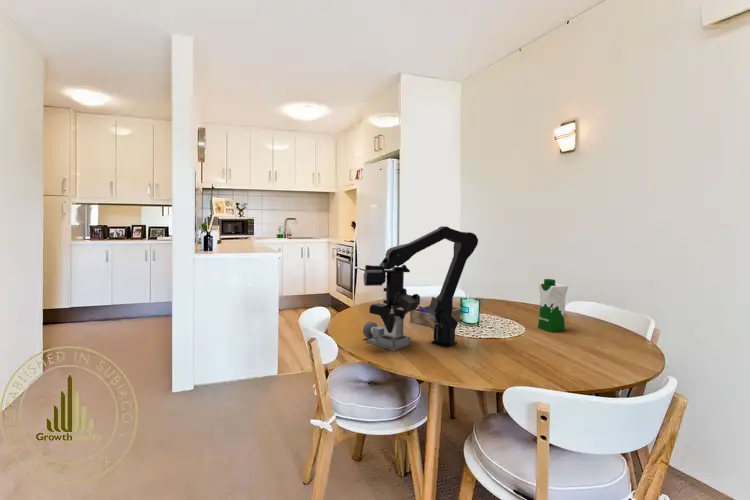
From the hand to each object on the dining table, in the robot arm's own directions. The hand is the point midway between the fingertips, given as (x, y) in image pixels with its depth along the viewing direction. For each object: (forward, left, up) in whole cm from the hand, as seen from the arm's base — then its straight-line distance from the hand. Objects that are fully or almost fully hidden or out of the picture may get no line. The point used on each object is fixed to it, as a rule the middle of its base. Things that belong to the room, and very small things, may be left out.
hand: (393, 331), depth 135 cm
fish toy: (+9, -39, -4) cm, 40 cm away
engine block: (0, 0, -2) cm, 2 cm away
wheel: (+11, 0, -5) cm, 12 cm away
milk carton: (-30, -61, -5) cm, 68 cm away
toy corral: (+9, -38, -5) cm, 40 cm away
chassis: (+2, 0, -5) cm, 5 cm away
